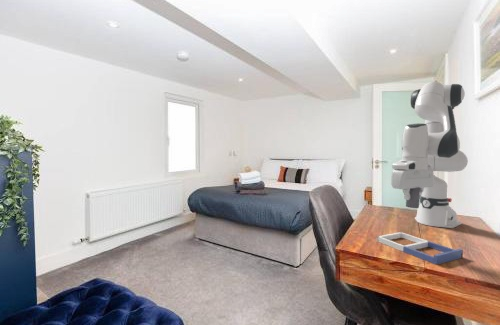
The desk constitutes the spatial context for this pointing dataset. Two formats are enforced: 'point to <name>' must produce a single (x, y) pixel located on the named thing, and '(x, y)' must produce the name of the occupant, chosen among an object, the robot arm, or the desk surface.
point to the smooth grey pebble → (413, 198)
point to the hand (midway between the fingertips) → (412, 199)
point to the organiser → (421, 243)
